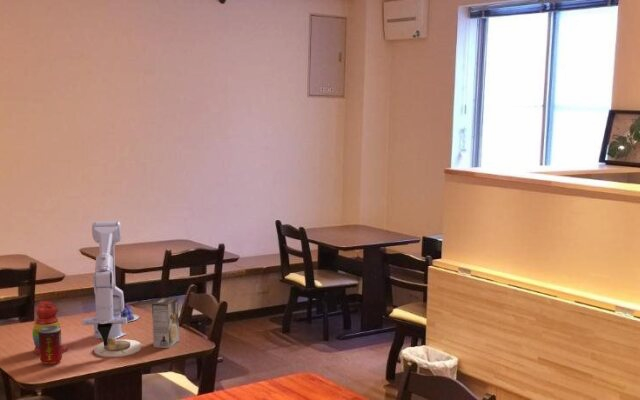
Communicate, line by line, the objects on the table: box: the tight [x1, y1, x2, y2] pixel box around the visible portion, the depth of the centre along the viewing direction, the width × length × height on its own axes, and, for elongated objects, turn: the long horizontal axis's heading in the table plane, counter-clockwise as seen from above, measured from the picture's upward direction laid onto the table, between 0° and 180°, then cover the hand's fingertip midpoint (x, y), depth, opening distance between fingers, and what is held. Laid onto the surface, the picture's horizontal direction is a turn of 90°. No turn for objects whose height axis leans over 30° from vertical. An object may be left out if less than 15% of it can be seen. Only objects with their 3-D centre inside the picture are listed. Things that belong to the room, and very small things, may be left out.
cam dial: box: [104, 337, 130, 351], centre depth 267 cm, size 13×9×5 cm
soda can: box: [38, 326, 63, 367], centre depth 256 cm, size 7×7×12 cm
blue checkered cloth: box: [121, 305, 140, 323], centre depth 309 cm, size 12×12×5 cm
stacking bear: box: [32, 300, 68, 356], centre depth 269 cm, size 11×10×18 cm
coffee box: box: [151, 297, 180, 349], centre depth 276 cm, size 9×6×16 cm
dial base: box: [93, 339, 142, 358], centre depth 271 cm, size 16×16×1 cm
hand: (105, 344), depth 262 cm, fingers closed
